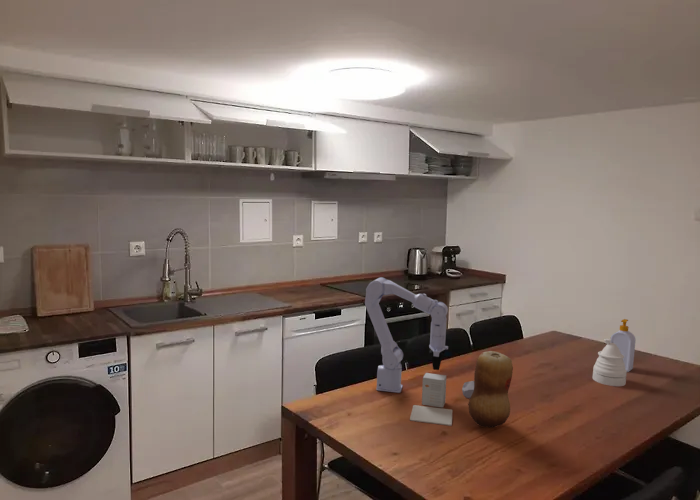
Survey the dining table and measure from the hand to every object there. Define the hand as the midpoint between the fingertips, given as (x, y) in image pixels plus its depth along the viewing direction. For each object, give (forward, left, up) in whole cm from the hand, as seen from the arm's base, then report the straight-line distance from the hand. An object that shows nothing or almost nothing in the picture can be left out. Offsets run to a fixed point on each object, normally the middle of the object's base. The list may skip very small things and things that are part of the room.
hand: (436, 369), depth 197 cm
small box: (0, -8, -11) cm, 13 cm away
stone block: (+15, +7, -11) cm, 20 cm away
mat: (0, -19, -10) cm, 21 cm away
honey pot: (+72, +40, -11) cm, 83 cm away
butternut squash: (+19, -21, -11) cm, 30 cm away
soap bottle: (+82, +60, -11) cm, 102 cm away
